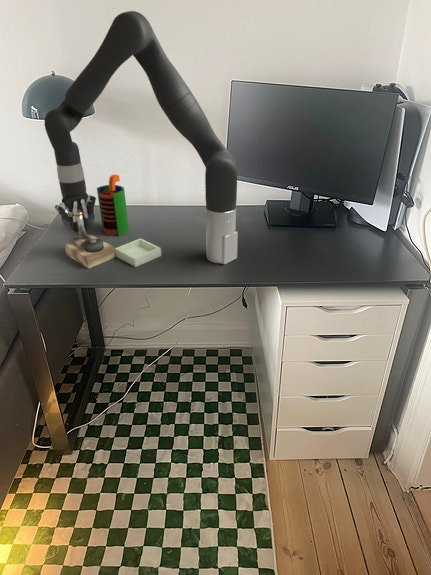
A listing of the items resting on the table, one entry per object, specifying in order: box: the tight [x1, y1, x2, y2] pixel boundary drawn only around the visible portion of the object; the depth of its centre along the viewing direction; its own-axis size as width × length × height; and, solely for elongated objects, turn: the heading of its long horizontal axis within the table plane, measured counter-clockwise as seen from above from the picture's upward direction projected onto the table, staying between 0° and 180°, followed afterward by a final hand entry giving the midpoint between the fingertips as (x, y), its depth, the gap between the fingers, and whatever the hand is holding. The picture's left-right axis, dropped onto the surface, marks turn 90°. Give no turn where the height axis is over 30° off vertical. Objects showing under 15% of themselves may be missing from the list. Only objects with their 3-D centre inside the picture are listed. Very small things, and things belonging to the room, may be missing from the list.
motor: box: [96, 174, 130, 237], centre depth 160 cm, size 10×9×20 cm
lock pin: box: [76, 210, 87, 237], centre depth 144 cm, size 3×3×8 cm
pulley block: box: [64, 233, 116, 269], centre depth 146 cm, size 14×10×7 cm
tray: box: [114, 238, 162, 268], centre depth 147 cm, size 11×11×3 cm
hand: (80, 230), depth 146 cm, fingers closed on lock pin, 2 cm apart
